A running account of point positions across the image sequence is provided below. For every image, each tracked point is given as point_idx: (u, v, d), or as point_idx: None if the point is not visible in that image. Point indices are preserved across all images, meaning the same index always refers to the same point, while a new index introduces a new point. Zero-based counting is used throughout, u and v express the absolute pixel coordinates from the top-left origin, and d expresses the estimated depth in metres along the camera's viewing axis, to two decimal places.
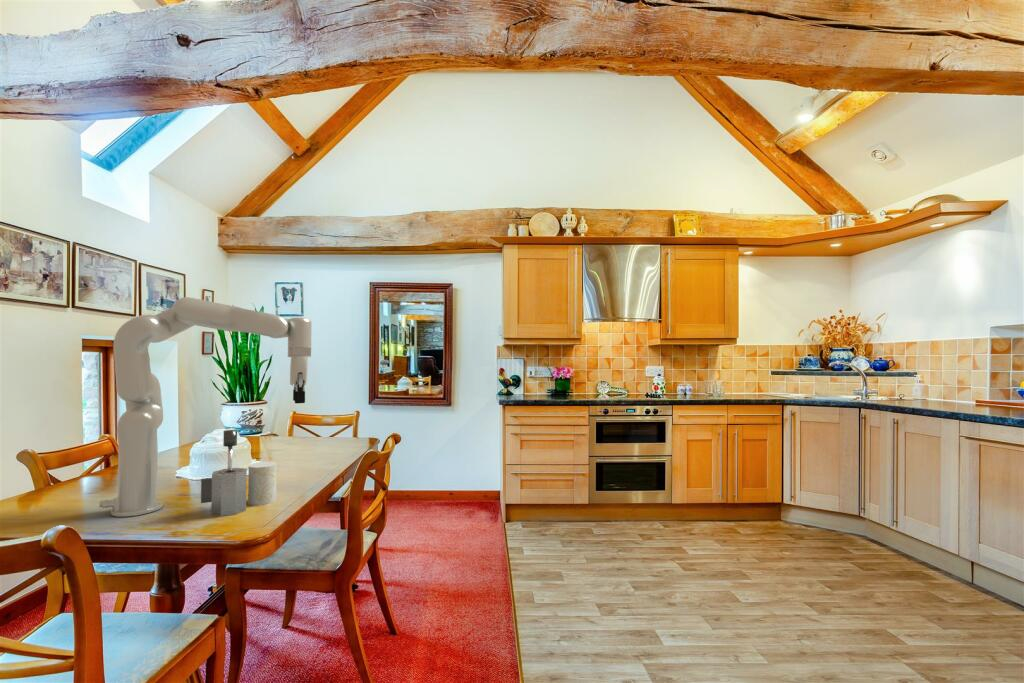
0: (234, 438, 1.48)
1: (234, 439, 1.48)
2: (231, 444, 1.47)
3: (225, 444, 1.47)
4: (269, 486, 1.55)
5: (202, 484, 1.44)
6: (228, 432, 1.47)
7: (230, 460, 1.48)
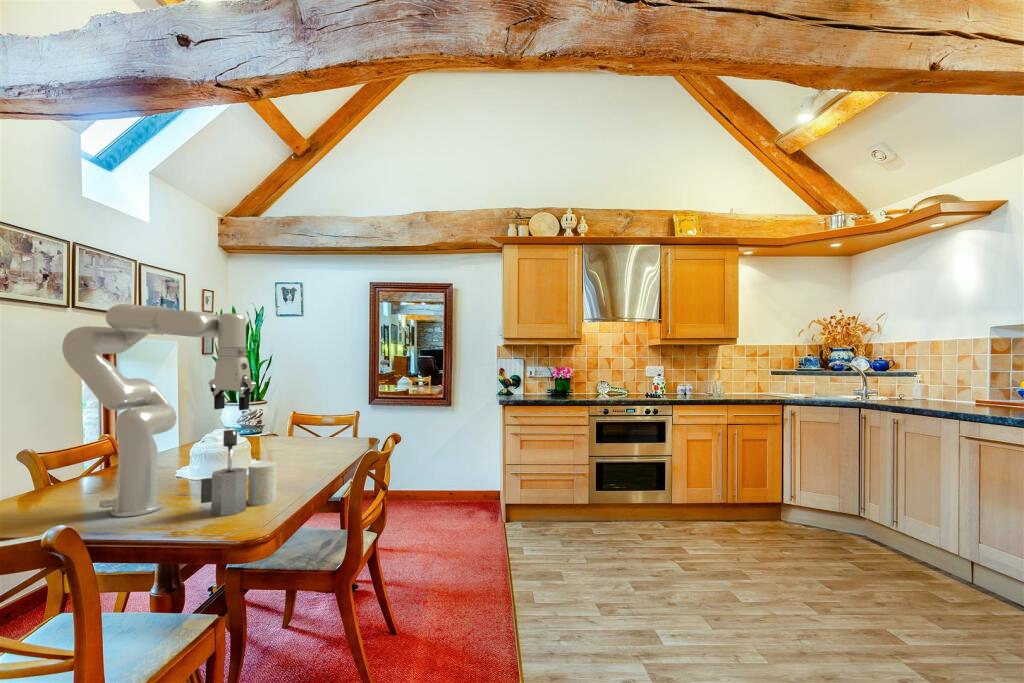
0: (234, 438, 1.48)
1: (234, 439, 1.48)
2: (231, 444, 1.47)
3: (225, 444, 1.47)
4: (269, 486, 1.55)
5: (202, 484, 1.44)
6: (228, 432, 1.47)
7: (230, 460, 1.48)
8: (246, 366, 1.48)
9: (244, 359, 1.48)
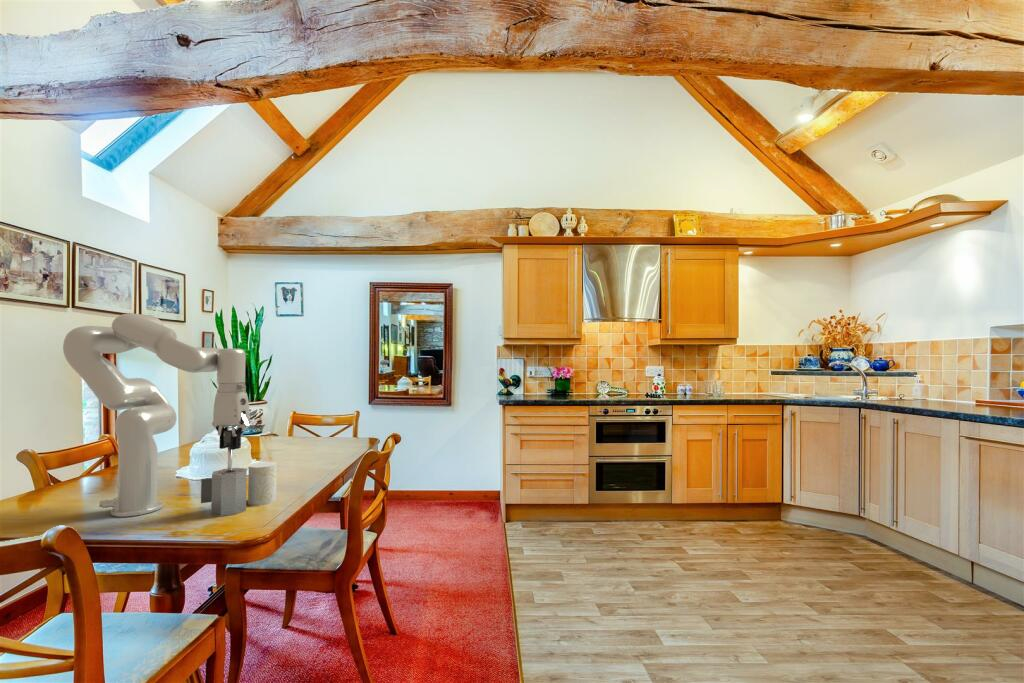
0: None
1: None
2: None
3: (225, 444, 1.47)
4: (269, 486, 1.55)
5: (202, 484, 1.44)
6: (228, 432, 1.47)
7: (230, 460, 1.48)
8: (245, 401, 1.48)
9: (243, 394, 1.48)
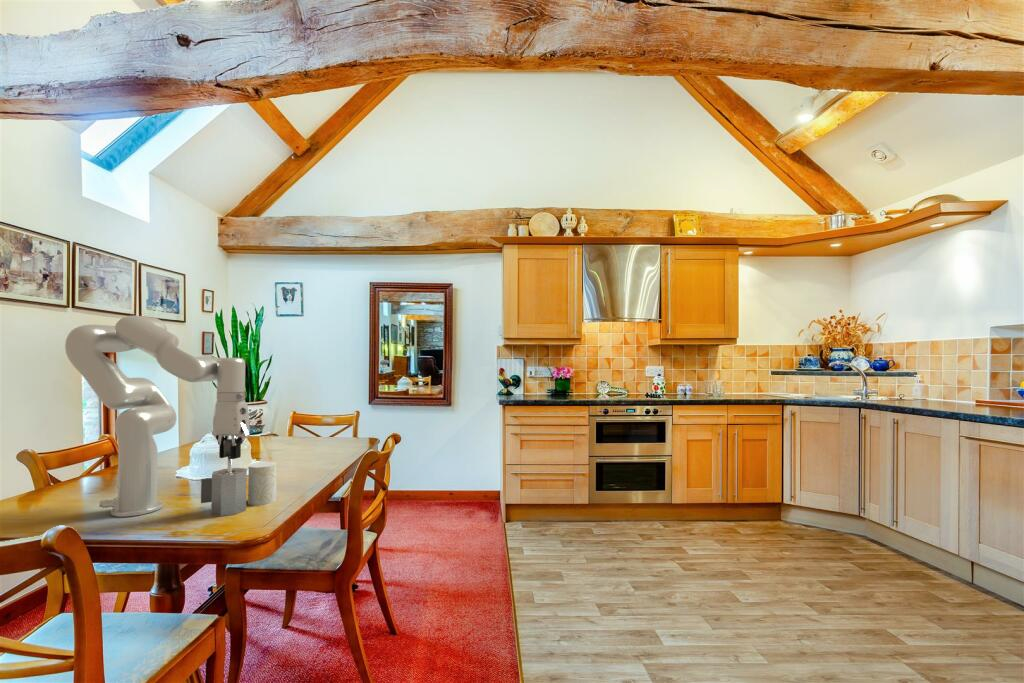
0: None
1: None
2: None
3: (225, 453, 1.47)
4: (269, 486, 1.55)
5: (202, 484, 1.44)
6: (228, 441, 1.47)
7: (230, 469, 1.48)
8: (245, 410, 1.48)
9: (243, 404, 1.48)
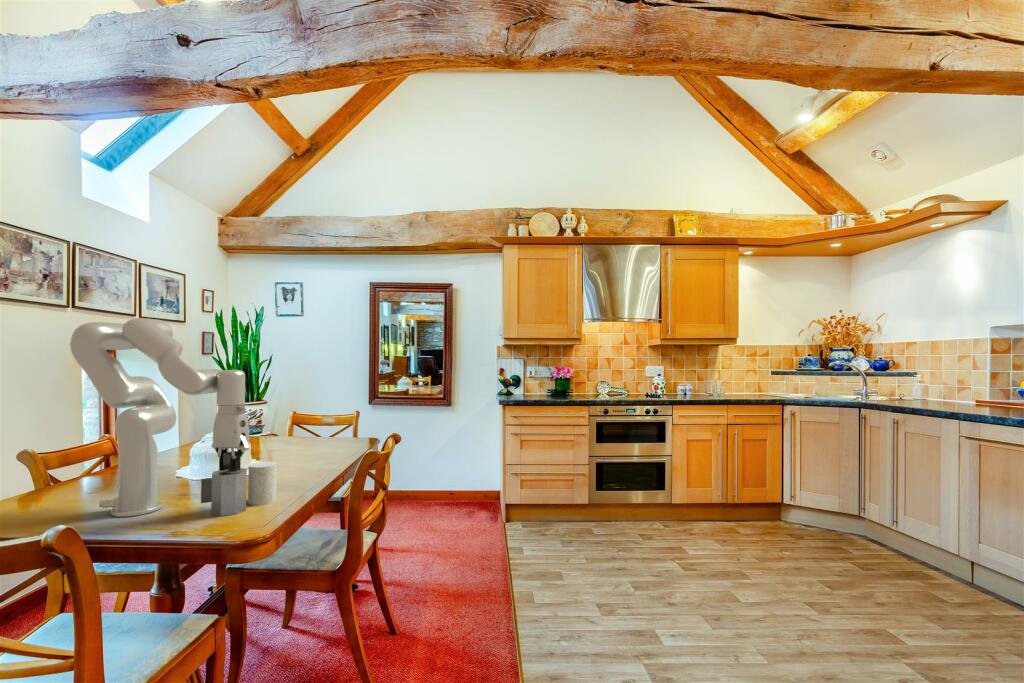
0: None
1: None
2: None
3: (225, 466, 1.46)
4: (269, 486, 1.55)
5: (202, 484, 1.44)
6: (228, 454, 1.47)
7: None
8: (245, 423, 1.48)
9: (243, 416, 1.48)
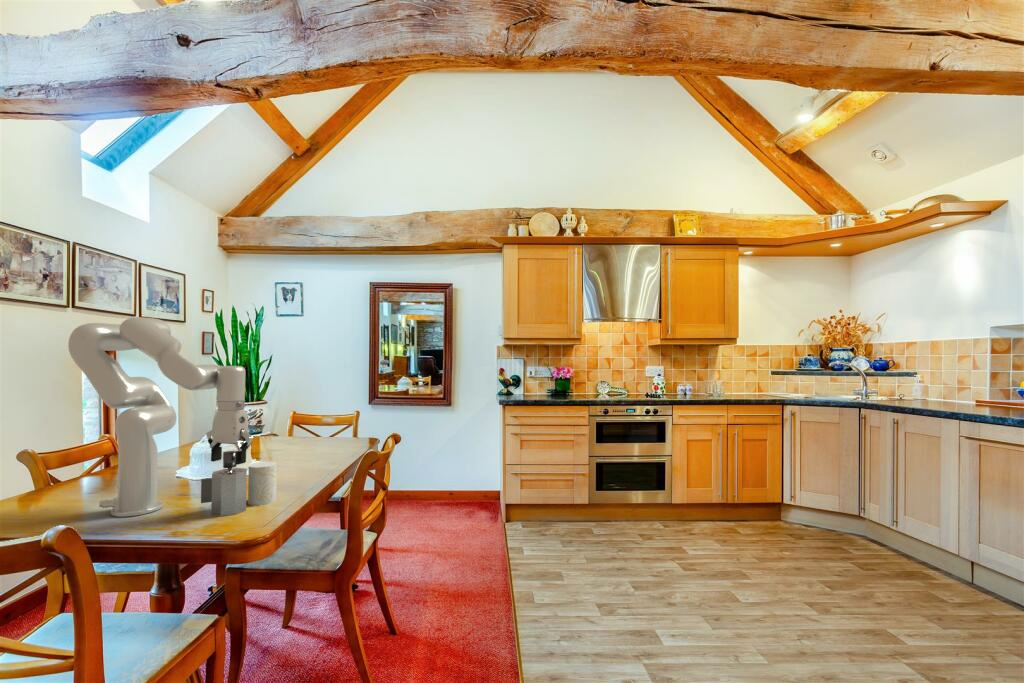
0: (234, 459, 1.48)
1: (234, 460, 1.48)
2: (231, 466, 1.47)
3: (225, 466, 1.46)
4: (269, 486, 1.55)
5: (202, 484, 1.44)
6: (228, 454, 1.47)
7: None
8: (244, 419, 1.48)
9: (242, 412, 1.48)
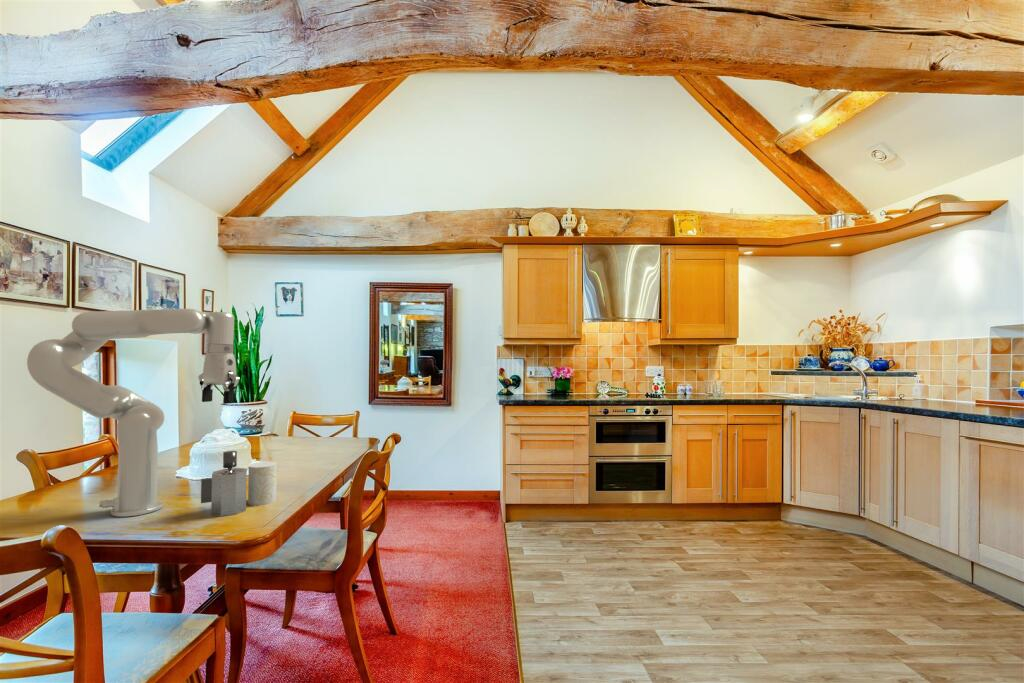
0: (234, 459, 1.48)
1: (234, 460, 1.48)
2: (231, 466, 1.47)
3: (225, 466, 1.46)
4: (269, 486, 1.55)
5: (202, 484, 1.44)
6: (228, 454, 1.47)
7: None
8: (232, 362, 1.57)
9: (230, 355, 1.57)
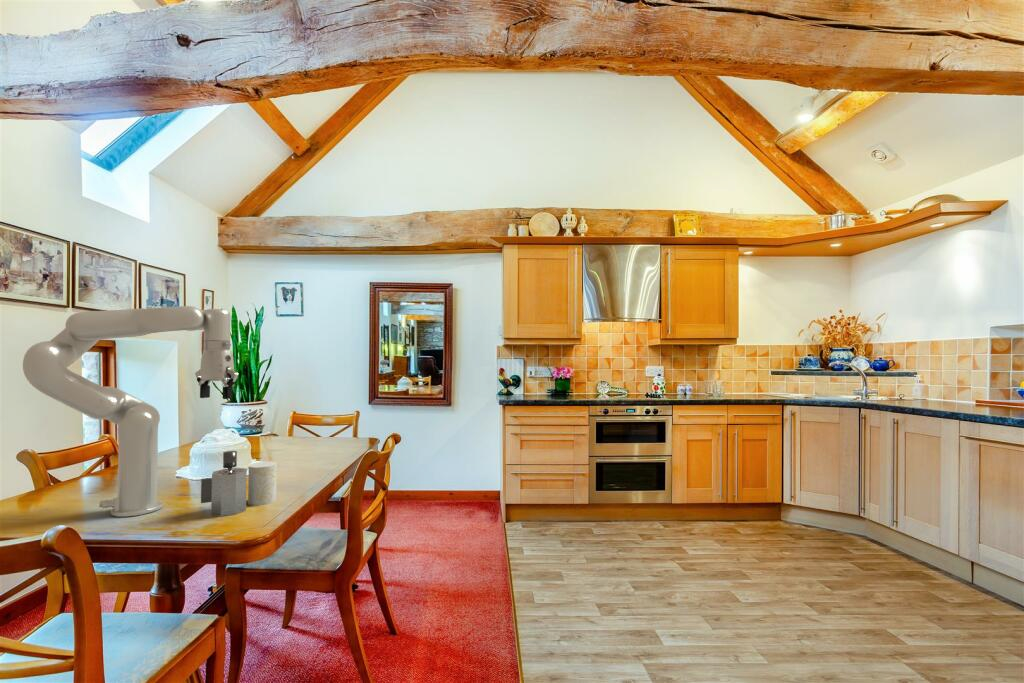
0: (234, 459, 1.48)
1: (234, 460, 1.48)
2: (231, 466, 1.47)
3: (225, 466, 1.46)
4: (269, 486, 1.55)
5: (202, 484, 1.44)
6: (228, 454, 1.47)
7: None
8: (230, 358, 1.60)
9: (228, 351, 1.59)
